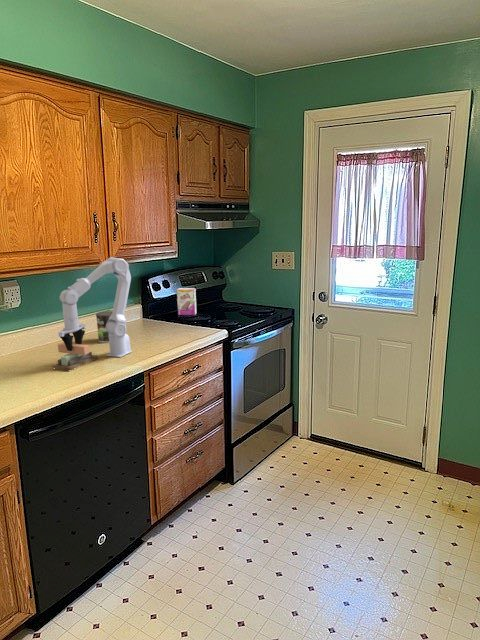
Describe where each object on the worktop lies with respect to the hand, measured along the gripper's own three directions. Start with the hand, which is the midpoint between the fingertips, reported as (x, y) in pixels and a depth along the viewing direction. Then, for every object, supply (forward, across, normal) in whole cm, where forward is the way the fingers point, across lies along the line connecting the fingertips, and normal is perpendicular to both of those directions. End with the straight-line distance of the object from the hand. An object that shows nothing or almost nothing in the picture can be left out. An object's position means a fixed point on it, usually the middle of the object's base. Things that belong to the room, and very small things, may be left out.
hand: (74, 348), depth 209 cm
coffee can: (+7, -37, -10) cm, 39 cm away
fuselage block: (+5, 0, 0) cm, 5 cm away
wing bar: (+2, 0, 0) cm, 2 cm away
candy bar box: (+7, -102, +1) cm, 102 cm away
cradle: (+7, 0, 0) cm, 7 cm away
